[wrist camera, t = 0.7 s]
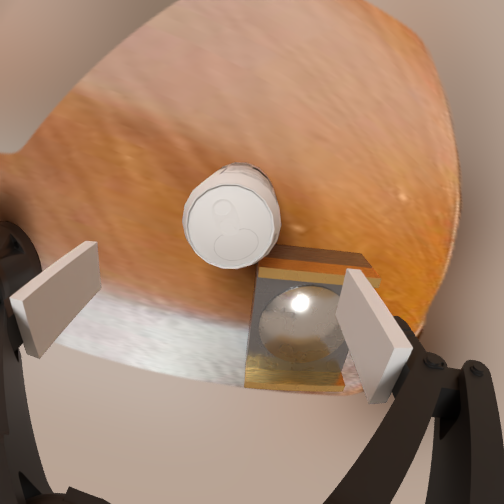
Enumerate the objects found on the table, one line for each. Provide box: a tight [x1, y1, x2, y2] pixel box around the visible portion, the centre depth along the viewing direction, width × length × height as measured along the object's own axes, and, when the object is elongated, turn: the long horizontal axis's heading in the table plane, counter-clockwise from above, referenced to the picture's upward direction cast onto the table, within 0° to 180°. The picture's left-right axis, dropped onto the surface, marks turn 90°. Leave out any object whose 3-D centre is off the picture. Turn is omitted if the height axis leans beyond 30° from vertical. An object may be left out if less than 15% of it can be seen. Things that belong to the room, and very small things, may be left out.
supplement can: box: [182, 162, 281, 269], centre depth 31 cm, size 8×8×15 cm
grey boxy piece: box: [244, 244, 381, 392], centre depth 40 cm, size 14×18×8 cm
